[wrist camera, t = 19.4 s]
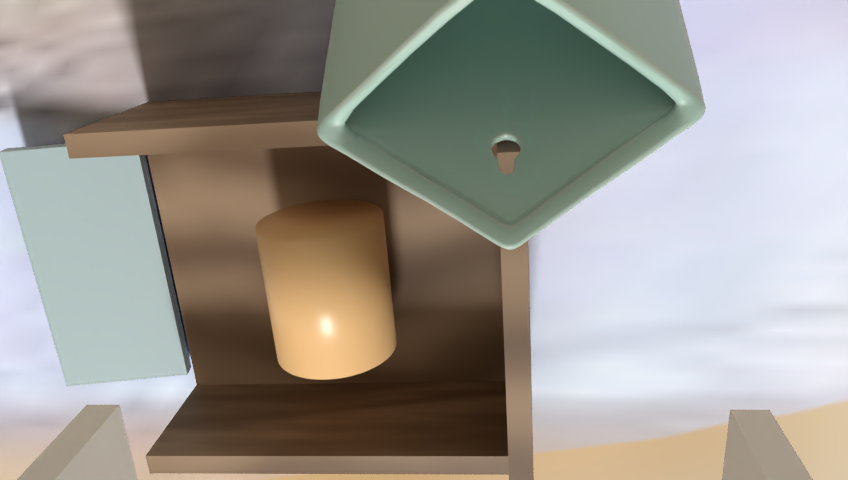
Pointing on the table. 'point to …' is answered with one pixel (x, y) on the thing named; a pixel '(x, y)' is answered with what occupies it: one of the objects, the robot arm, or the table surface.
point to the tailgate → (98, 263)
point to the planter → (506, 99)
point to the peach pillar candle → (328, 287)
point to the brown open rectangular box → (250, 319)
